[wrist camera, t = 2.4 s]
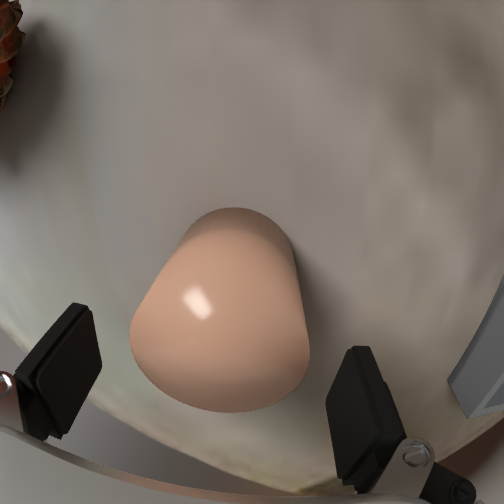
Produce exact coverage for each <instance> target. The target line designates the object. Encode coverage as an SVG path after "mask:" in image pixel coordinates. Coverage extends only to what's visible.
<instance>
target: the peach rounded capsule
mask: <svg viewBox="0 0 504 504" xmlns="http://www.w3.org/2000/svg"><path fill="white" fill-rule="evenodd" d="M129 338H130V346H131V351H132V354H133V356H134V359H135V361H136V363H137V364H138V366H139V368H140V369H141V371H142V372H143V373H144V375H145V376H146V377H147V378H148V379H149V380H150V381H151V382H152V383H153V384H154V385H155V386H156V387H157V388H159V389H160V390H161V391H163V392H164V393H166V394H167V395H169V396H171V397H172V398H174V399H176V400H178V401H180V402H182V403H185V404H187V405H190V406H193V407H196V408H200V409H203V410H209V411H215V412H227V413H235V412H246V411H252V410H257V409H261V408H264V407H267V406H269V405H272V404H274V403H276V402H278V401H280V400H281V399H283V398H285V397H286V396H287V395H289V394H290V393H291V392H292V391H294V389H295V388H296V387H297V386H298V385H299V384H300V382H301V381H302V380H303V378H304V376H305V374H306V372H307V370H308V366H309V362H310V345H309V339H308V333H307V327H306V321H305V315H304V309H303V304H302V298H301V293H300V287H299V282H298V276H297V271H296V265H295V260H294V255H293V250H292V247H291V244H290V242H289V240H288V238H287V236H286V235H285V233H284V232H283V230H282V229H281V228H280V227H279V226H278V225H277V224H276V223H275V222H274V221H272V220H271V219H269V218H268V217H266V216H265V215H263V214H261V213H259V212H256V211H253V210H249V209H244V208H224V209H218V210H215V211H212V212H210V213H208V214H206V215H204V216H202V217H201V218H199V219H198V220H197V221H196V222H194V223H193V224H192V225H191V227H190V228H189V229H188V230H187V232H186V233H185V235H184V236H183V238H182V239H181V241H180V242H179V244H178V245H177V247H176V248H175V250H174V251H173V253H172V255H171V256H170V258H169V259H168V261H167V262H166V264H165V265H164V267H163V269H162V270H161V272H160V273H159V275H158V277H157V278H156V280H155V281H154V283H153V285H152V286H151V288H150V289H149V291H148V293H147V294H146V296H145V298H144V299H143V301H142V303H141V304H140V306H139V308H138V309H137V311H136V313H135V315H134V317H133V319H132V322H131V326H130V333H129Z"/></svg>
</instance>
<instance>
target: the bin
mask: <svg viewBox="0 0 504 504" xmlns="http://www.w3.org/2000/svg"><path fill="white" fill-rule="evenodd" d="M447 381H448V383H449V384H450V386H451V388H452V390H453V392H454V394H455V396H456V398H457V400H458V402H459V404H460V406H461V408H462V410H463V412H464V414H465V416H466V419H471V418H475V417H479V416H484V415H488V414H492V413H495V412H499V411H503V410H504V277H503V279H502V281H501V284H500V286H499V288H498V290H497V293H496V295H495V297H494V299H493V301H492V303H491V305H490V307H489V309H488V311H487V313H486V315H485V317H484V319H483V321H482V323H481V325H480V327H479V329H478V330H477V332H476V334H475V336H474V338H473V339H472V341H471V343H470V345H469V346H468V348H467V350H466V351H465V353H464V355H463V356H462V358H461V360H460V361H459V363H458V364H457V366H456V368H455V369H454V371H453V372H452V374H451V375H450V377H449V378H448V380H447Z"/></svg>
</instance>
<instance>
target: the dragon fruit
mask: <svg viewBox="0 0 504 504" xmlns="http://www.w3.org/2000/svg"><path fill="white" fill-rule="evenodd" d="M22 15H23V11H22V10H21V5H20V4H19V0H15V1H12V2H9V0H0V112H1V110H2V109H3V107H4V103H5V100H6V94H7V92H8V91H9V90H10V88H11V86H12V84H13V82H14V81H13V80H12V79H11V78H9V74H10V73H11V72H12V70H13V68H14V65H15V59H16V58H17V56H16V53H17V52H18V50H19V49H20V48H21V46H22V45H23V43H24V40H25V35H26V34H25V33H24V32H21V31H20V30H19V28H18V27H17V25H18V23H19V21H20V19H21V17H22Z"/></svg>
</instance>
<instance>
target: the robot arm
mask: <svg viewBox="0 0 504 504" xmlns="http://www.w3.org/2000/svg"><path fill="white" fill-rule="evenodd" d="M101 369H102V360H101V356H100V351H99V346H98V341H97V336H96V331H95V325H94V320H93V314H92V311H91V310H89V308H88V306H86V305H83V304H79V303H72V304H71V305H70V306H69V307H68V308H67V309H66V310H65V312H64V313H63V314H62V315H61V316H60V317H59V318H58V320H57V321H56V322H55V323H54V324H53V325H52V326H51V328H50V329H49V330H48V331H47V332H46V333H45V335H44V336H43V337H42V338H41V339H40V341H39V342H38V343H37V344H36V345H35V347H34V348H33V349H32V350H31V352H30V353H29V354H28V355H27V357H26V358H25V359H24V360H23V362H22V363H21V364H20V366H19V367H18V368H17V369H16V370H15V372H16V373H15V374H14V375H13V376H12V375H11V374H9V373H8V372H4V371H0V504H485V503H484V502H483V501H482V500H481V499H480V500H479V501H477V500H476V490H475V487H474V486H473V484H472V483H471V482H470V481H469V480H467V479H465V478H463V477H461V476H459V475H458V474H456V473H454V472H452V471H450V470H448V469H446V468H445V467H443V466H441V465H439V464H437V463H436V462H434V460H435V453H434V450H433V448H432V446H431V445H430V444H429V443H428V442H427V441H425V440H424V439H421V438H418V437H410V438H407V436H406V433H405V431H404V428H403V425H402V422H401V419H400V417H399V414H398V411H397V409H396V406H395V403H394V401H393V398H392V395H391V393H390V390H389V388H388V385H387V384H386V382H384V381H383V378H382V376H381V373H380V371H379V368H378V366H377V363H376V361H375V358H374V356H373V353H372V351H371V349H370V347H369V346H353V347H352V349H348V350H347V352H346V354H345V357H344V359H343V361H342V364H341V366H340V368H339V371H338V373H337V375H336V377H335V380H334V382H333V384H332V386H331V389H330V391H329V393H328V395H327V398H326V410H327V416H328V422H329V427H330V433H331V439H332V445H333V451H334V457H335V464H336V470H337V476H338V478H339V479H342V482H343V486H345V485H354V488H355V491H356V492H355V493H354V494H351V495H336V496H310V497H280V496H257V495H244V494H233V493H224V492H215V491H209V490H202V489H196V488H189V487H184V486H179V485H174V484H169V483H165V482H160V481H156V480H152V479H147V478H144V477H140V476H136V475H133V474H129V473H125V472H122V471H119V470H116V469H113V468H110V467H106V466H104V465H101V464H98V463H95V462H92V461H89V460H86V459H84V458H81V457H79V456H76V455H74V454H71V453H69V452H66V451H64V450H61V449H59V448H57V447H54V446H52V445H50V444H48V443H47V438H48V436H49V435H51V436H53V437H55V438H57V439H60V440H61V438H62V436H63V434H67V433H68V431H69V430H70V428H71V426H72V424H73V422H74V420H75V418H76V416H77V414H78V412H79V410H80V408H81V406H82V404H83V403H84V401H85V399H86V397H87V395H88V393H89V391H90V390H91V388H92V386H93V384H94V382H95V380H96V379H97V377H98V375H99V373H100V371H101Z"/></svg>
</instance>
